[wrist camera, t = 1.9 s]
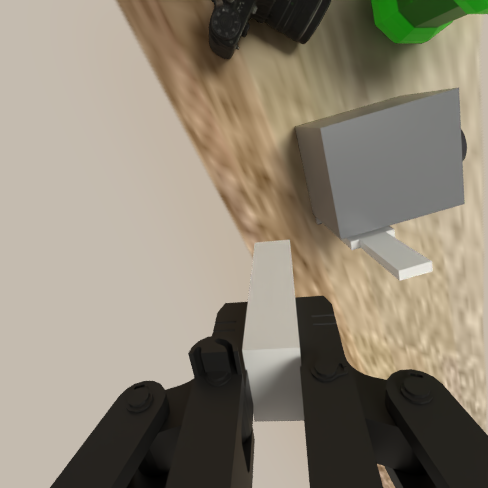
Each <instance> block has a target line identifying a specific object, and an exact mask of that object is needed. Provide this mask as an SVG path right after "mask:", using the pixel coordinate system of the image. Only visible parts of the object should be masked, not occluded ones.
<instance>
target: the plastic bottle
mask: <svg viewBox="0 0 488 488" xmlns="http://www.w3.org/2000/svg"><path fill="white" fill-rule="evenodd" d="M371 5H372V10H373V16H374V22H375V25H376V26H377V27H378V28H379V29H380V30H381V31H382V32H383V33H384V34H385V35H386V36H387V37H388V38H389V39H390V40H391V41H392V42H394V43H424V42H427V41H428V40H430V39H431V38H432V37H434V36H435V35H436V34H438V33H439V32H440V31H441V30H443V29H444V28H445V27H447V26H448V25H449V24H450V23H452V22H453V20H455V19H458V18H460V17H462V16H465V15H467V14H488V0H371Z"/></svg>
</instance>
